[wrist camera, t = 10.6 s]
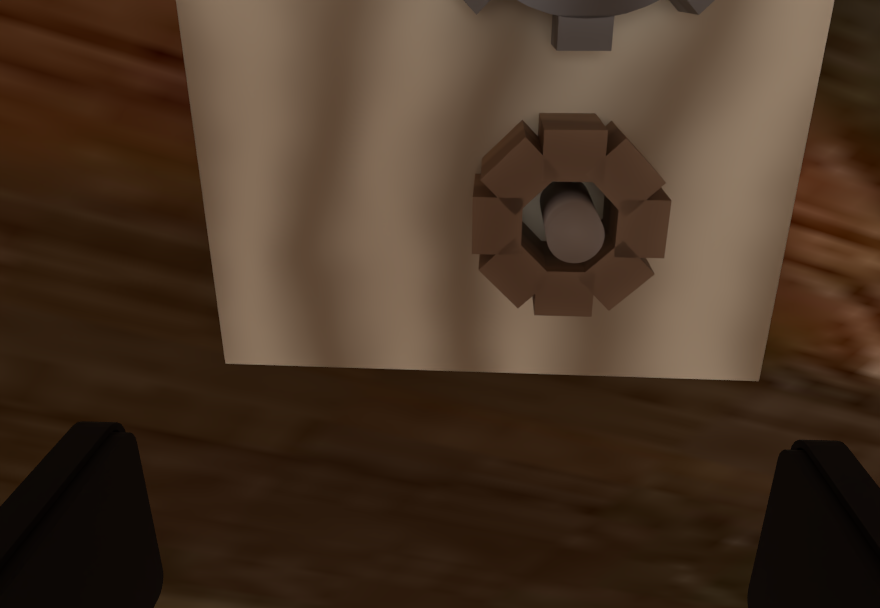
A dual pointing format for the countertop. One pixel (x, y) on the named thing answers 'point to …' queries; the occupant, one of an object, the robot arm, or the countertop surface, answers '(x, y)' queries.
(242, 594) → the countertop surface
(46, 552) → the robot arm
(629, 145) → the walnut gear
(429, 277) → the gear board
